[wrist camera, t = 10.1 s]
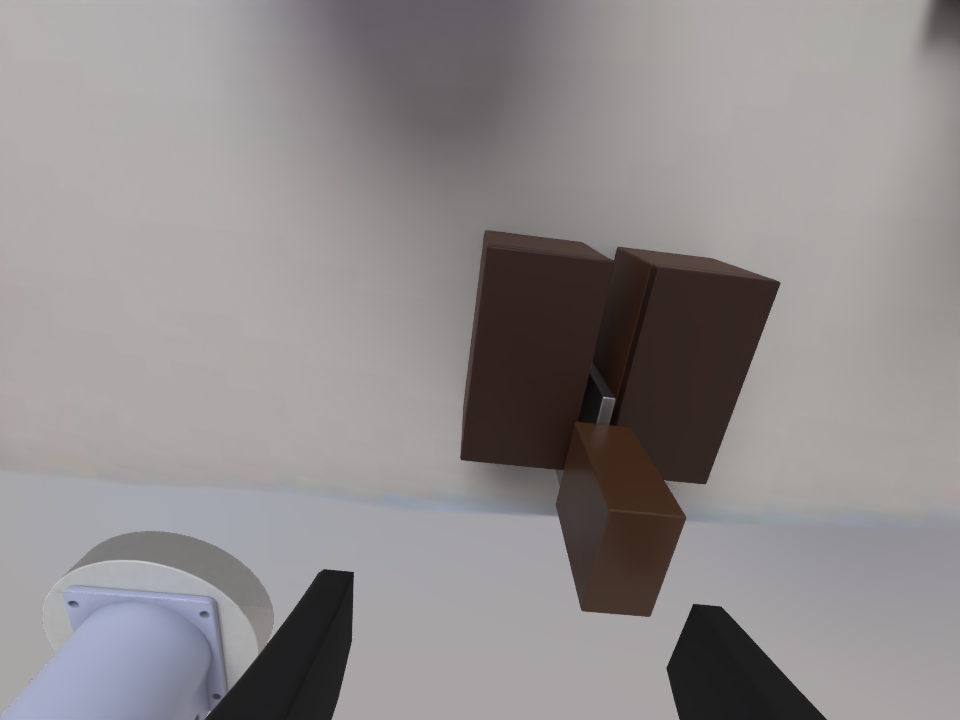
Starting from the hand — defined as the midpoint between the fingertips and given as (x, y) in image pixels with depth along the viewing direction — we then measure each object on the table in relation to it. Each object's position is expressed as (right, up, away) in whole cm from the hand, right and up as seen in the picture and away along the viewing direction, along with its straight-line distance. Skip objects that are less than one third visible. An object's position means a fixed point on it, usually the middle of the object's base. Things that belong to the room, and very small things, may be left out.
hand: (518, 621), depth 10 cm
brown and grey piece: (+3, +4, +9) cm, 10 cm away
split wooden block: (+3, +6, +8) cm, 11 cm away
